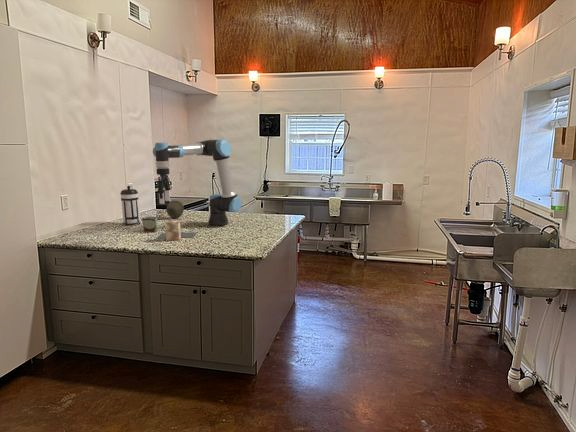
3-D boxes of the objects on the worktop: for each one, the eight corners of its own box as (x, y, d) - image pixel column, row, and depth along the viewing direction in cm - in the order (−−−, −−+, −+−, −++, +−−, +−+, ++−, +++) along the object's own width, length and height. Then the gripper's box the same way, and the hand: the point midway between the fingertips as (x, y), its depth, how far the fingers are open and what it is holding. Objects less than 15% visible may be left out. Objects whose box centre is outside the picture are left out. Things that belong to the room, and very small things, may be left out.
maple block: (180, 238, 266) (179, 220, 263) (179, 240, 260) (177, 222, 258) (168, 238, 265) (167, 220, 263) (166, 241, 259) (165, 222, 257)
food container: (162, 230, 289) (161, 217, 288) (156, 232, 284) (155, 218, 282) (147, 229, 293) (146, 216, 292) (142, 231, 288) (141, 217, 286)
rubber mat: (196, 232, 281) (196, 232, 281) (193, 237, 267) (193, 236, 267) (161, 233, 279) (161, 233, 279) (156, 238, 266) (156, 237, 265)
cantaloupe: (164, 218, 337) (163, 200, 334) (180, 216, 345) (179, 199, 342) (170, 220, 325) (169, 202, 323) (187, 218, 334) (186, 200, 331)
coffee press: (116, 225, 310) (112, 186, 304) (131, 221, 324) (128, 184, 319) (133, 227, 303) (130, 187, 298) (148, 223, 318) (145, 185, 312)
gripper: (161, 167, 260) (163, 199, 264) (150, 169, 235) (153, 205, 239) (173, 166, 260) (175, 199, 264) (163, 169, 236) (165, 205, 239)
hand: (164, 202), depth 251 cm, fingers open, 13 cm apart
